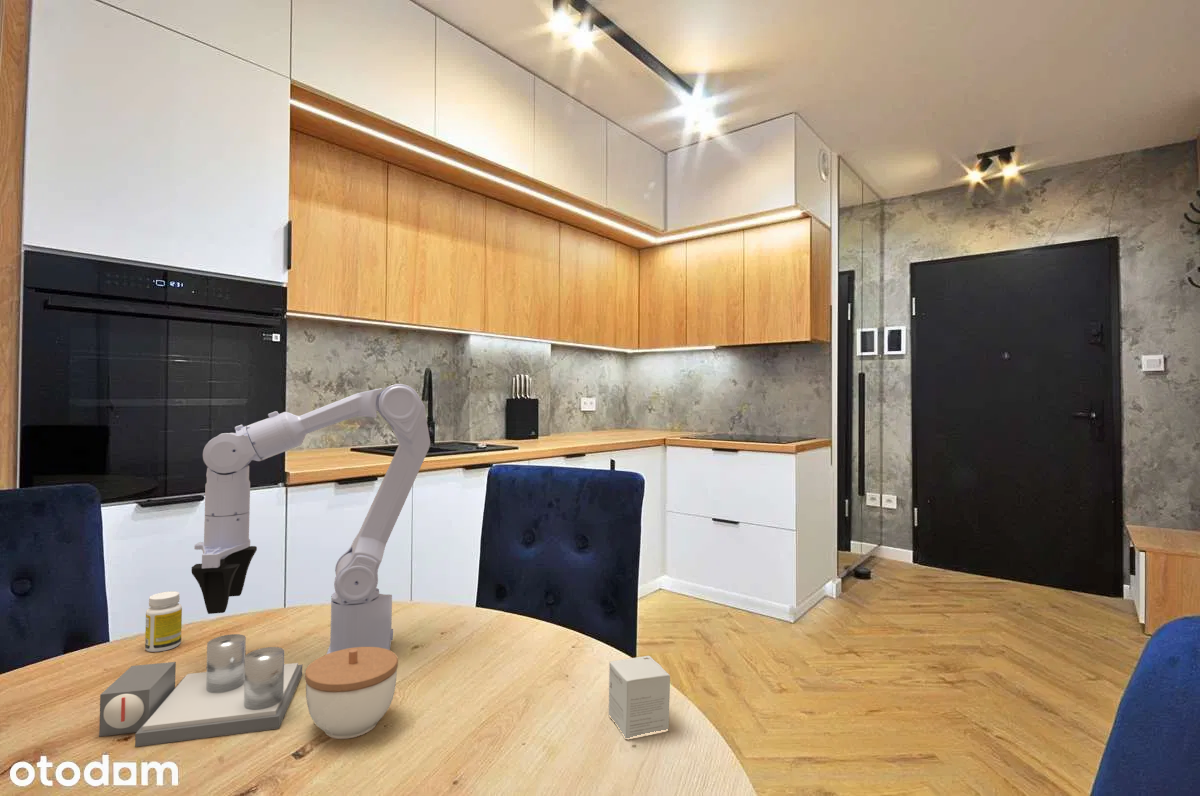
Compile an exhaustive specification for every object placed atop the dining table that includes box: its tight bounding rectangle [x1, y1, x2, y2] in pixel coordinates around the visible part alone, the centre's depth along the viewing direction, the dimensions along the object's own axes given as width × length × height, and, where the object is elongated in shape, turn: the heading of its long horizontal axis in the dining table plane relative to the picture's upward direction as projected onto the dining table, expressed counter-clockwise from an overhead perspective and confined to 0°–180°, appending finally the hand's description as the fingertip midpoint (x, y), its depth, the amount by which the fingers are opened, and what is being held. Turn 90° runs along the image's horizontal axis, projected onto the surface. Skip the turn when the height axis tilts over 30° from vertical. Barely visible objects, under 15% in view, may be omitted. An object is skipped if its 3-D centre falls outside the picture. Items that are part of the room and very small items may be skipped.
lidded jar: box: [304, 647, 399, 740], centre depth 74 cm, size 11×11×9 cm
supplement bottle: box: [144, 590, 183, 653], centre depth 96 cm, size 5×5×8 cm
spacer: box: [206, 633, 247, 693], centre depth 79 cm, size 4×4×6 cm
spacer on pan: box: [244, 646, 285, 710], centre depth 75 cm, size 4×4×6 cm
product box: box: [608, 655, 671, 738], centre depth 75 cm, size 6×6×7 cm
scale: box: [98, 661, 304, 748], centre depth 77 cm, size 20×15×5 cm
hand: (225, 603), depth 88 cm, fingers open, 7 cm apart
